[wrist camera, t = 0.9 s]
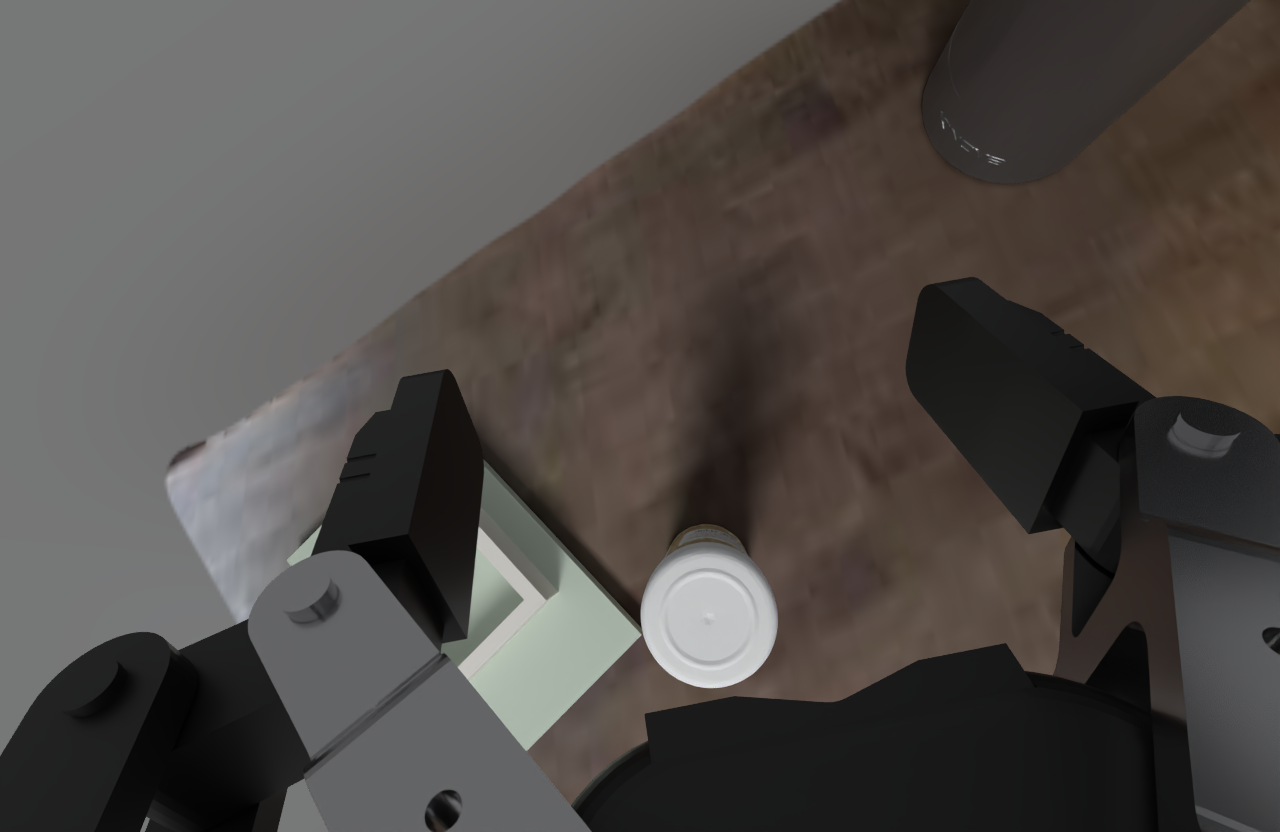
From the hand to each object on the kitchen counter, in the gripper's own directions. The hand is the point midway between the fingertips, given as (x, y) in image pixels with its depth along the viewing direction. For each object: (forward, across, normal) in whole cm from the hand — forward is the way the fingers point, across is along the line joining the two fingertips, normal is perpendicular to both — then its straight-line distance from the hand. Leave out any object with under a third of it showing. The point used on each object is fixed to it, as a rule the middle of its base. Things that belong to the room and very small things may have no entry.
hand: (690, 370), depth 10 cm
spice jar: (+12, -2, +21) cm, 24 cm away
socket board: (+14, +12, +22) cm, 28 cm away
